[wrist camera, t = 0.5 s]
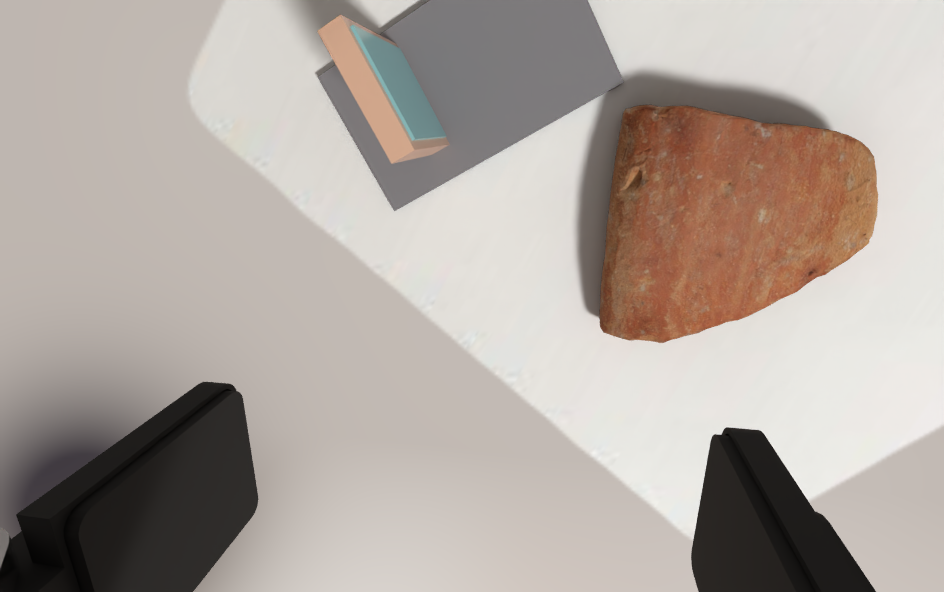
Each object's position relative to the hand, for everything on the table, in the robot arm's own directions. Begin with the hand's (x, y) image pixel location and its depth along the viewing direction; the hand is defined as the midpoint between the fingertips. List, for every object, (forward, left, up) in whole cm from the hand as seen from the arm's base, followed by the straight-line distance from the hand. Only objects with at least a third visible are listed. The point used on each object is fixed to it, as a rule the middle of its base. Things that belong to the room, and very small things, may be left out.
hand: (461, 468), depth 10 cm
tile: (+3, -11, -26) cm, 29 cm away
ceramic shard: (-11, +6, -27) cm, 30 cm away
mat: (-1, -10, -27) cm, 29 cm away
